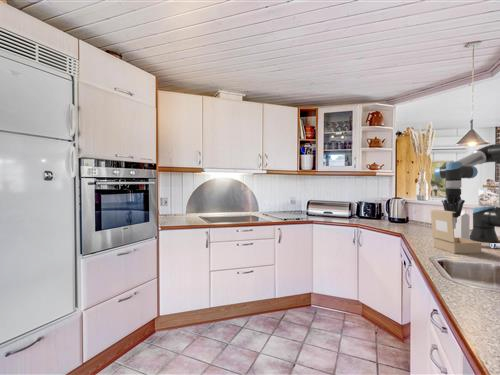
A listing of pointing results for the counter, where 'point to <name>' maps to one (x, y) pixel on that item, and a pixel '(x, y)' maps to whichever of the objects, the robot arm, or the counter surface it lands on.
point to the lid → (442, 225)
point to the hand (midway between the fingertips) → (452, 228)
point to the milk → (462, 226)
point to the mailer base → (458, 246)
